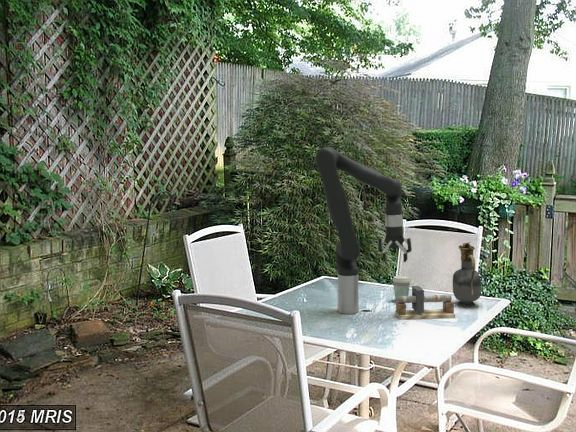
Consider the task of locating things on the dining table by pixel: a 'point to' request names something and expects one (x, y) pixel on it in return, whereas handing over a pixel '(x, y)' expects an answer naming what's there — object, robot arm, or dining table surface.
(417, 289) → the collar
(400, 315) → the pipe rig
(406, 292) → the coffee cup
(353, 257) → the robot arm
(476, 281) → the dark grey bottle
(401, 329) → the dining table surface
